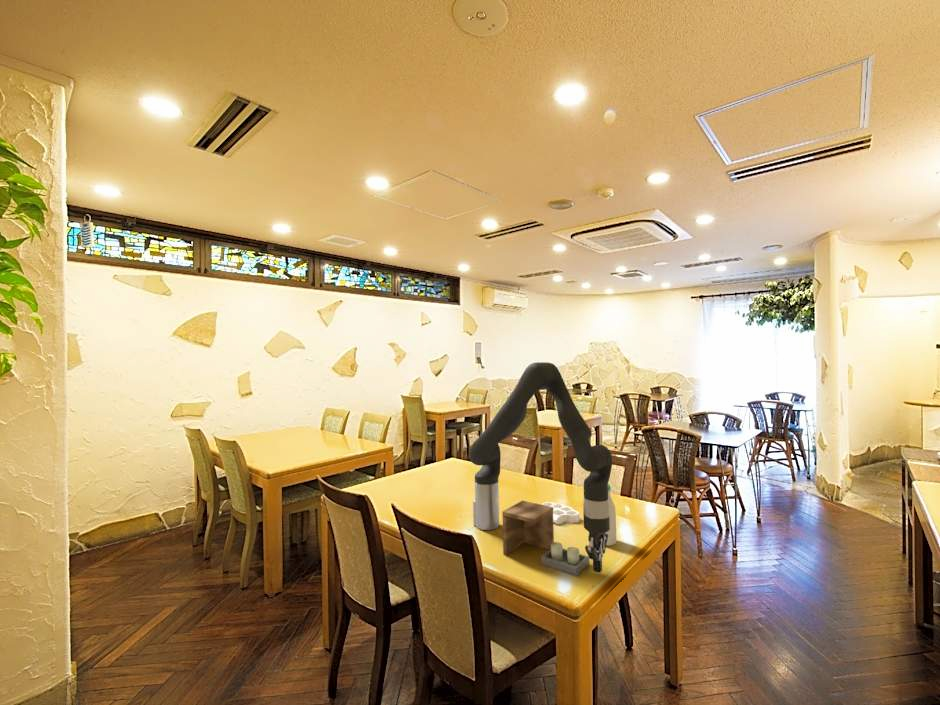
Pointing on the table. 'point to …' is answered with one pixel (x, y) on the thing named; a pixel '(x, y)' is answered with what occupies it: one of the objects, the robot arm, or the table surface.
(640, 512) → the table surface
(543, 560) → the tray
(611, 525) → the milk bottle
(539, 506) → the brown wooden cube
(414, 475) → the table surface
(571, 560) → the cream piece
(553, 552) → the cream cylinder
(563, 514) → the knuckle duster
